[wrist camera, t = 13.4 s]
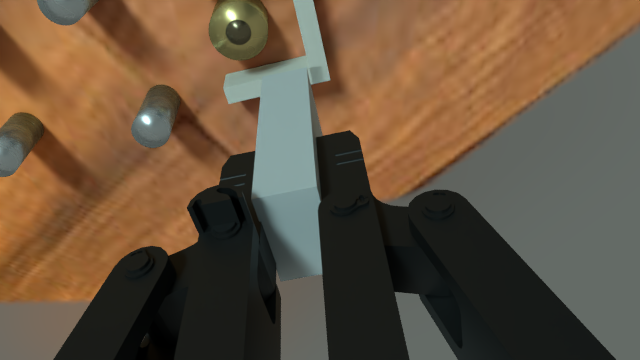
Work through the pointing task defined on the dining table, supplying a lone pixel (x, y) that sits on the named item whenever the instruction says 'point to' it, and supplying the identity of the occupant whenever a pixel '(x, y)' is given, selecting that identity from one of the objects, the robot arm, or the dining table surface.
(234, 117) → the dining table surface
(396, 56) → the dining table surface
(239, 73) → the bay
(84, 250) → the dining table surface
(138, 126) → the spacers
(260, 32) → the gold round piece
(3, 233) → the dining table surface
